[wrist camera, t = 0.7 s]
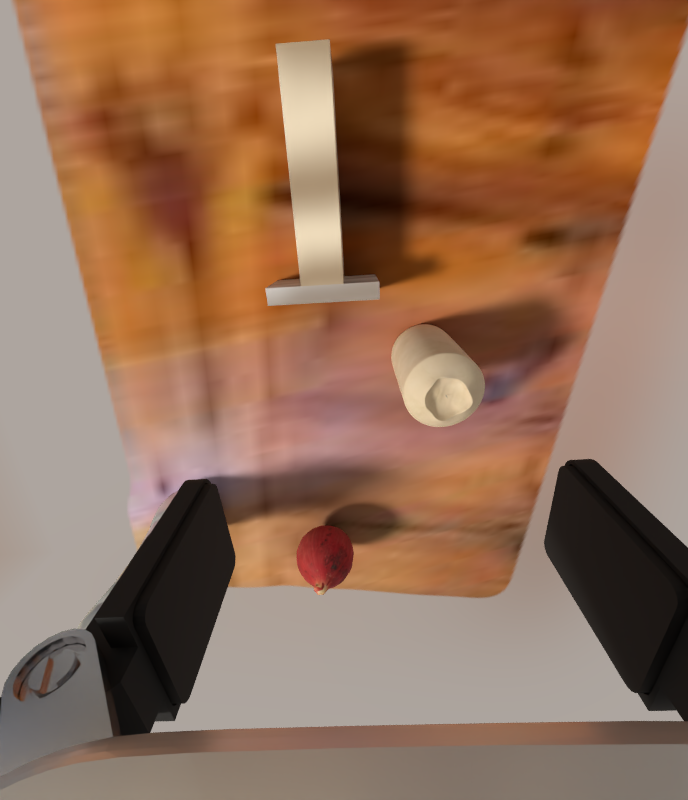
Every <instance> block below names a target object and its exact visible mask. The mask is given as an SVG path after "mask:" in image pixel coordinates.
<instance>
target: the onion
mask: <svg viewBox="0 0 688 800" xmlns="http://www.w3.org/2000/svg"><path fill="white" fill-rule="evenodd" d="M353 554H354V552H353V547H352V544H351V541H350V539H349V537H348V536H347V534H346V533H345V532H343V531H342V530H341V529H340V528H337V527H334V526H330V525H326V526H319V527H316V528H314V529H312V530H311V531H309V532H308V533H307V534H306V535H305V536H304V537H303V538H302V540H301V542H300V544H299V547H298V549H297V565H298V568H299V571H300V573H301V574H302V576H303V577H304V579H305V580H306V581H307V582H308V583H309V584H311V585H312V586H314V591H315V592H316V593H317V594H318V595H320V594H322V595H323V594H324V593H325V592H326V591H327V590H328V589H329V588H333V587H335V586H337V585H338V584H340V583H341V582H342V581H344V579H345V578H346V576H347V575H348V573H349V572H350V570H351V568H352V562H353Z"/></svg>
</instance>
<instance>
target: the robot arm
mask: <svg viewBox="0 0 688 800" xmlns="http://www.w3.org/2000/svg"><path fill="white" fill-rule="evenodd" d="M544 544H545V550H546V553H547V555H548V557H549V558H550V560H551V562H552V563H553V565H554V566H555V568H556V570H557V572H558V573H559V575H560V577H561V578H562V580H563V582H564V583H565V585H566V587H567V588H568V590H569V592H570V593H571V595H572V597H573V598H574V600H575V601H576V603H577V605H578V606H579V608H580V610H581V611H582V613H583V615H584V616H585V618H586V620H587V621H588V623H589V625H590V626H591V628H592V630H593V631H594V633H595V635H596V636H597V638H598V639H599V641H600V643H601V644H602V646H603V648H604V649H605V651H606V653H607V654H608V656H609V658H610V659H611V661H612V663H613V664H614V666H615V668H616V669H617V671H618V672H619V674H620V676H621V678H622V679H623V681H624V682H625V684H626V685H627V687H628V688H629V689H630V690H631V691H633V692H634V693H638V694H639V696H640V697H641V699H642V701H643V702H644V704H645V706H646V707H647V709H648V710H649V711H667V710H677V711H678V713H679V714H680V716H681V717H682V719H683V720H684V721H615V722H614V721H612V722H546V723H544V722H540V723H484V724H482V723H479V724H430V725H429V724H426V725H382V726H381V725H380V726H334V727H298V728H297V727H296V728H260V729H258V728H257V729H224V730H201V731H180V732H160V733H150V732H151V729H152V727H153V724H154V722H155V721H175V719H176V716H177V713H178V710H179V707H180V705H181V703H186V702H187V700H188V699H189V697H190V695H191V692H192V689H193V686H194V683H195V680H196V677H197V674H198V672H199V669H200V666H201V663H202V660H203V657H204V654H205V651H206V648H207V645H208V642H209V640H210V637H211V634H212V631H213V628H214V625H215V622H216V619H217V616H218V613H219V611H220V608H221V604H222V601H223V599H224V596H225V593H226V590H227V587H228V584H229V582H230V579H231V576H232V573H233V570H234V567H235V552H234V548H233V544H232V541H231V537H230V533H229V530H228V526H227V522H226V519H225V515H224V511H223V508H222V504H221V500H220V497H219V493H218V489H217V486H216V485H215V484H211V483H210V481H209V480H208V479H198V480H187V481H185V482H184V483H183V485H182V486H181V488H180V489H179V491H178V492H177V494H176V495H175V497H174V498H173V500H172V501H171V503H170V504H169V506H168V507H167V509H166V510H165V512H164V513H163V515H162V516H161V518H160V519H159V521H158V522H157V524H156V525H155V527H154V528H153V530H152V532H151V533H150V534H149V535H148V536H147V537H146V539H145V540H144V542H143V543H142V545H141V546H140V548H139V549H138V551H137V552H136V554H135V555H134V557H133V559H132V560H131V562H130V563H129V565H128V566H127V568H126V569H125V571H124V572H123V574H122V575H121V577H120V578H119V580H118V581H117V583H116V584H115V586H114V587H113V589H112V590H111V592H110V593H109V595H108V596H107V598H106V599H105V601H104V602H103V604H102V605H101V607H100V608H99V610H98V611H97V613H96V614H95V616H94V617H93V619H92V620H91V622H90V623H89V625H88V626H87V628H86V629H71V630H67V631H63V632H60V633H58V634H56V635H54V636H52V637H49V638H48V639H46V640H45V641H43V642H42V643H40V644H38V645H37V646H36V647H34V648H33V649H32V650H31V651H30V652H29V653H27V654H26V655H25V656H24V657H23V658H22V659H21V660H20V662H19V663H18V664H17V665H16V666H15V667H14V669H13V670H12V671H11V673H10V675H9V677H8V679H7V680H6V682H5V684H4V688H3V692H2V696H1V697H0V800H688V548H687V547H686V546H685V545H684V544H683V543H682V542H681V541H680V540H679V539H678V538H677V537H676V536H675V535H674V534H673V533H672V532H671V531H670V530H668V529H667V528H666V527H665V526H664V525H663V524H662V523H661V522H660V521H659V520H658V519H657V518H655V516H653V514H651V513H650V512H649V511H648V510H647V509H646V508H645V507H644V506H643V505H642V504H641V503H640V502H639V501H638V500H637V499H636V498H635V497H633V496H632V495H631V494H630V493H629V492H628V491H627V490H626V489H625V488H624V487H623V486H622V485H621V484H620V483H619V482H618V481H617V480H615V479H614V478H613V477H612V476H611V475H610V474H609V473H608V472H607V471H606V470H605V469H604V468H603V467H602V466H601V465H600V464H599V463H597V462H596V461H595V460H592V459H583V460H569V461H567V462H566V464H565V466H562V467H560V469H559V472H558V477H557V482H556V486H555V492H554V497H553V501H552V506H551V511H550V516H549V520H548V525H547V530H546V535H545V541H544Z"/></svg>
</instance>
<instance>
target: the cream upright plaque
mask: <svg viewBox="0 0 688 800" xmlns="http://www.w3.org/2000/svg"><path fill="white" fill-rule="evenodd" d="M276 52H277V61H278V71H279V81H280V90H281V100H282V109H283V119H284V129H285V138H286V148H287V158H288V167H289V177H290V187H291V196H292V206H293V215H294V225H295V235H296V244H297V254H298V264H299V273H300V279H290V280H278V281H276V282H275V283H273V284H272V285H270V286H268V287H267V288H266V295H267V302H268V306H272V305H289V304H306V303H324V302H341V301H358V300H375V299H380V289H379V280H378V279H377V277H376V275H375V274H372V275H356V276H344V261H343V243H342V225H341V207H340V189H339V172H338V154H337V136H336V118H335V100H334V82H333V69H332V59H331V49H330V39H328V40H316V41H304V42H292V43H280V44H276Z"/></svg>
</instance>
